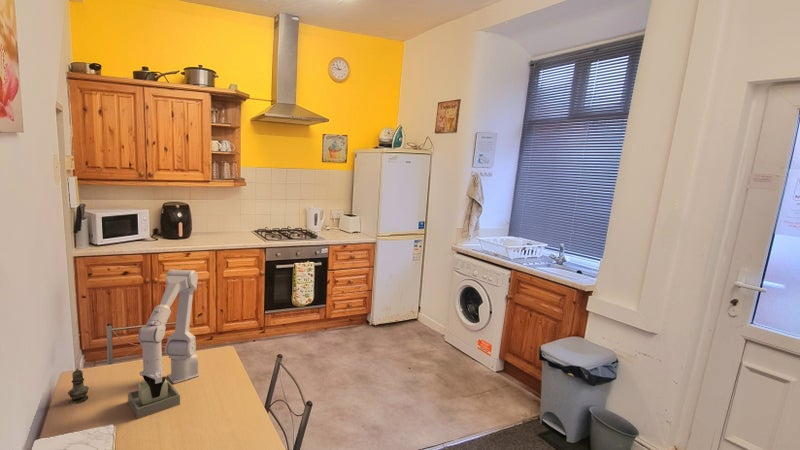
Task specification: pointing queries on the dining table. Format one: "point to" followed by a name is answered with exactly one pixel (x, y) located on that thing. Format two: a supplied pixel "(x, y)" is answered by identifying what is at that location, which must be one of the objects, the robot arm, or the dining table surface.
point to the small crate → (146, 395)
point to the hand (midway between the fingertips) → (153, 393)
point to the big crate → (154, 406)
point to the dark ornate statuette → (78, 388)
